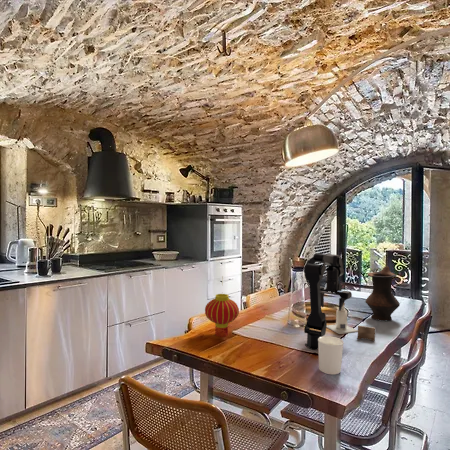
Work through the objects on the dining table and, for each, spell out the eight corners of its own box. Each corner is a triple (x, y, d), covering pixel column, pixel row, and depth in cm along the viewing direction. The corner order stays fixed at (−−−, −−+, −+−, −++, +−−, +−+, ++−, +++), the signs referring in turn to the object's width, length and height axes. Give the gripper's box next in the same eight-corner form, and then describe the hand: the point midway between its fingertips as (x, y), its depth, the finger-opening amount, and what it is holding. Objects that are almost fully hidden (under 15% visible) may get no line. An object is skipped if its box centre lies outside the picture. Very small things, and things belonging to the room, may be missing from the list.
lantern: (241, 330, 185) (242, 273, 183) (233, 342, 168) (234, 280, 166) (210, 327, 189) (211, 271, 188) (199, 338, 173) (200, 277, 171)
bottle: (334, 326, 192) (335, 301, 191) (344, 326, 192) (345, 301, 191) (337, 329, 187) (338, 304, 186) (348, 330, 186) (348, 304, 186)
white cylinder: (337, 364, 146) (338, 336, 146) (346, 375, 137) (347, 345, 136) (314, 364, 146) (314, 335, 146) (321, 375, 136) (322, 345, 136)
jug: (395, 326, 196) (397, 272, 194) (360, 319, 207) (362, 268, 205) (403, 317, 212) (405, 267, 211) (370, 311, 224) (372, 264, 222)
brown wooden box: (357, 338, 176) (357, 326, 176) (357, 336, 179) (358, 324, 179) (374, 341, 173) (375, 329, 173) (374, 338, 176) (375, 327, 176)
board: (339, 334, 182) (339, 333, 182) (325, 326, 193) (325, 325, 193) (358, 331, 186) (358, 330, 186) (343, 324, 197) (343, 323, 197)
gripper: (356, 279, 181) (354, 309, 182) (321, 274, 193) (320, 302, 194) (348, 282, 173) (346, 313, 173) (312, 277, 184) (311, 306, 185)
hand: (331, 308), depth 182 cm, fingers open, 9 cm apart
